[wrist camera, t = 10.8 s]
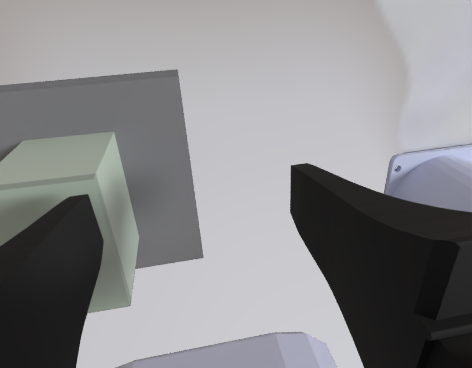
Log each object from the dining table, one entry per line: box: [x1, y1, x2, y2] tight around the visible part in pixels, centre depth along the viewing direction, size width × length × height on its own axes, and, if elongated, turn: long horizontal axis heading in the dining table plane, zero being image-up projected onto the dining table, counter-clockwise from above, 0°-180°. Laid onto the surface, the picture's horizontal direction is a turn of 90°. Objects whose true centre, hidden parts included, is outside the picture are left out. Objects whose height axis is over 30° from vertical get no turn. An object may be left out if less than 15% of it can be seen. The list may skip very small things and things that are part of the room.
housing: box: [0, 132, 139, 313], centre depth 16 cm, size 4×7×6 cm, turn 3°
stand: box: [0, 70, 203, 269], centre depth 20 cm, size 12×12×2 cm
